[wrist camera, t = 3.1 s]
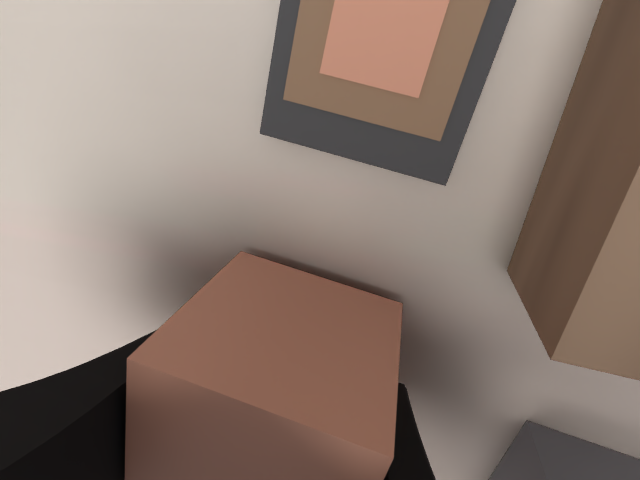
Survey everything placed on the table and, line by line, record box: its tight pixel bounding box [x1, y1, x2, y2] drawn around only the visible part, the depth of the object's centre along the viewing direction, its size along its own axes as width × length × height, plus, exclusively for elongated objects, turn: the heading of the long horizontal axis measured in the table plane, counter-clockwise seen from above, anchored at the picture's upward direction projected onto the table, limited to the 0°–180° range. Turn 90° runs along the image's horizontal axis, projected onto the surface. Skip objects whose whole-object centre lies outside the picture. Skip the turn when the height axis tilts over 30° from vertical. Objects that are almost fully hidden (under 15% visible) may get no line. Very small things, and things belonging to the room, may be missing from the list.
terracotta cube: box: [125, 251, 403, 480], centre depth 10 cm, size 5×5×5 cm
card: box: [260, 0, 516, 186], centre depth 9 cm, size 5×6×1 cm
